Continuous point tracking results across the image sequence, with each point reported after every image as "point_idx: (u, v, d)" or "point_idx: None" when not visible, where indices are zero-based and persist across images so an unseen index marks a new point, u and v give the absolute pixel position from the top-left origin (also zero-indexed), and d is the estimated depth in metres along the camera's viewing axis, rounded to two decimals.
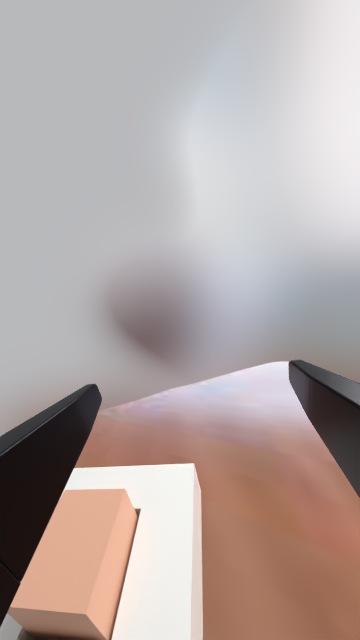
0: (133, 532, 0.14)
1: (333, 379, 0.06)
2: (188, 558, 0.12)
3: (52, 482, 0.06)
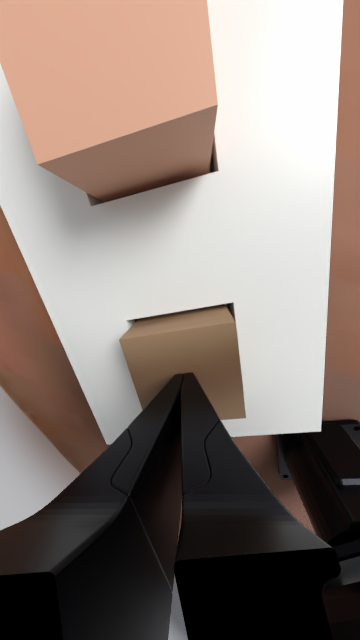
0: None
1: (193, 393, 0.06)
2: (334, 15, 0.06)
3: (177, 478, 0.06)
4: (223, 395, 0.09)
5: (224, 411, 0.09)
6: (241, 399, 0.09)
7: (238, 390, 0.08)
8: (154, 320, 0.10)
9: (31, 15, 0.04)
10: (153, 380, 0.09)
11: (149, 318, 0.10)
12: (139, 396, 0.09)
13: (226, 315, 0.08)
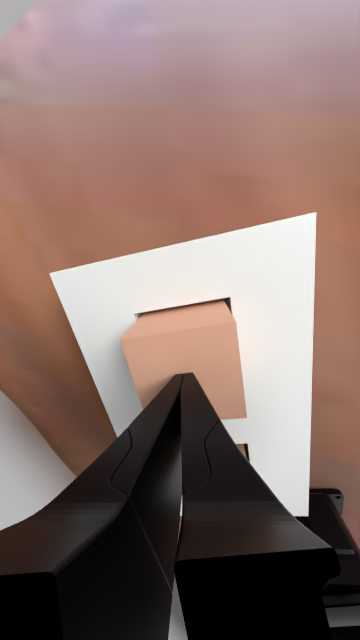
0: None
1: (193, 393, 0.06)
2: (308, 327, 0.10)
3: (177, 478, 0.06)
4: None
5: None
6: None
7: None
8: None
9: (157, 382, 0.09)
10: None
11: None
12: None
13: (241, 447, 0.13)
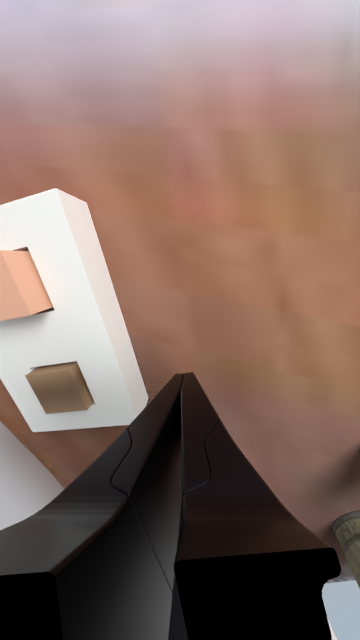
0: None
1: (193, 393, 0.06)
2: (81, 267, 0.15)
3: (177, 478, 0.06)
4: (74, 399, 0.19)
5: (77, 407, 0.19)
6: (82, 401, 0.19)
7: (79, 397, 0.19)
8: None
9: None
10: (43, 392, 0.19)
11: None
12: (39, 400, 0.19)
13: (73, 364, 0.19)
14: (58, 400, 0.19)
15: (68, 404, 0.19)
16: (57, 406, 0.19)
